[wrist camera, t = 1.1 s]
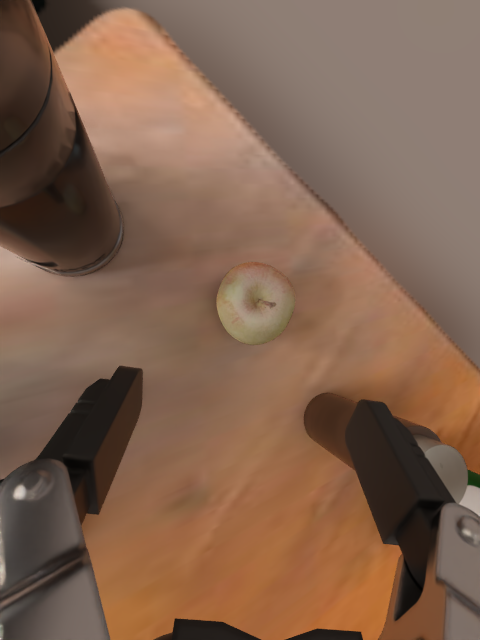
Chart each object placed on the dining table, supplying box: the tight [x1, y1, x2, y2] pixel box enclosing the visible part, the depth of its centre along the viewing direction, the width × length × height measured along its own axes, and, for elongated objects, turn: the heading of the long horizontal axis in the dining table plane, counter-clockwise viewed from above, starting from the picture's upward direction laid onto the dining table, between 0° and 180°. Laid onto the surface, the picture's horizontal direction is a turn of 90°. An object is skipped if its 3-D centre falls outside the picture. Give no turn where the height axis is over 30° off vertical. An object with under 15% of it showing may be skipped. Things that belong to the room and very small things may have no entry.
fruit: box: [216, 262, 295, 345], centre depth 27 cm, size 8×7×8 cm
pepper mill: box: [304, 393, 468, 504], centre depth 25 cm, size 6×6×14 cm
